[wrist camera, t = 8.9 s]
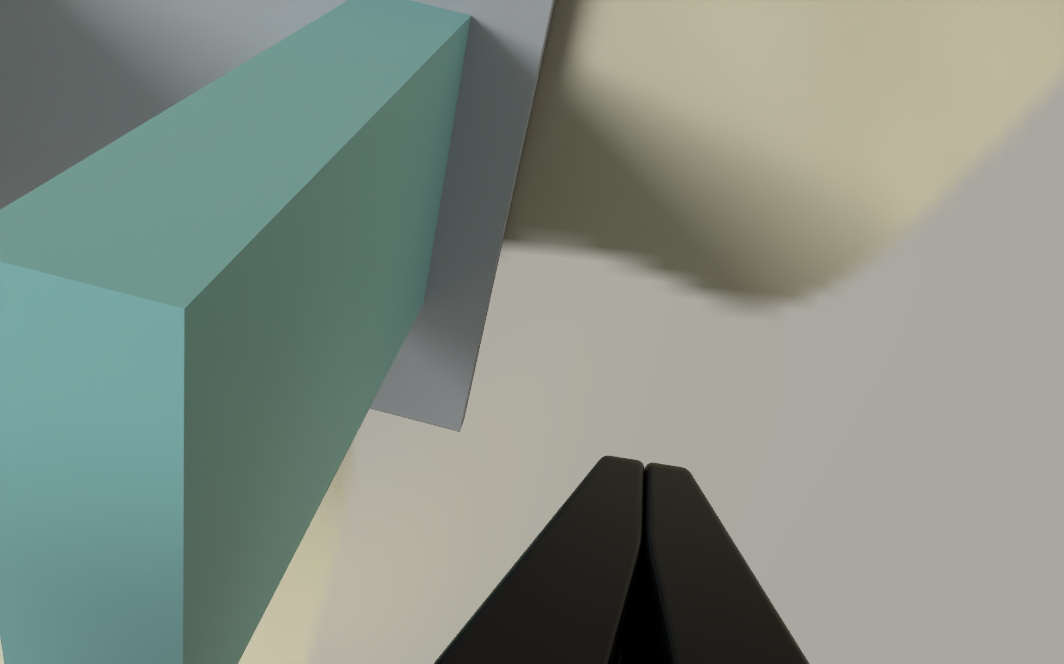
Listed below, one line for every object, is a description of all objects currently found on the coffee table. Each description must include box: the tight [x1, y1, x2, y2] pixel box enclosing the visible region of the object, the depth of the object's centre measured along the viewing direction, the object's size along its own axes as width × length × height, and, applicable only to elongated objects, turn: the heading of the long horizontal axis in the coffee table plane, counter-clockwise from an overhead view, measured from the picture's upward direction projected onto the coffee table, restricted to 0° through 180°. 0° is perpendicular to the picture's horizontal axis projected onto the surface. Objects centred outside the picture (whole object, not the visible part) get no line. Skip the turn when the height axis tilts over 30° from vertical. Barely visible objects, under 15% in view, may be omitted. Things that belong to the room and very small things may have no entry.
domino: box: [0, 0, 471, 664], centre depth 11 cm, size 2×5×9 cm, turn 168°
